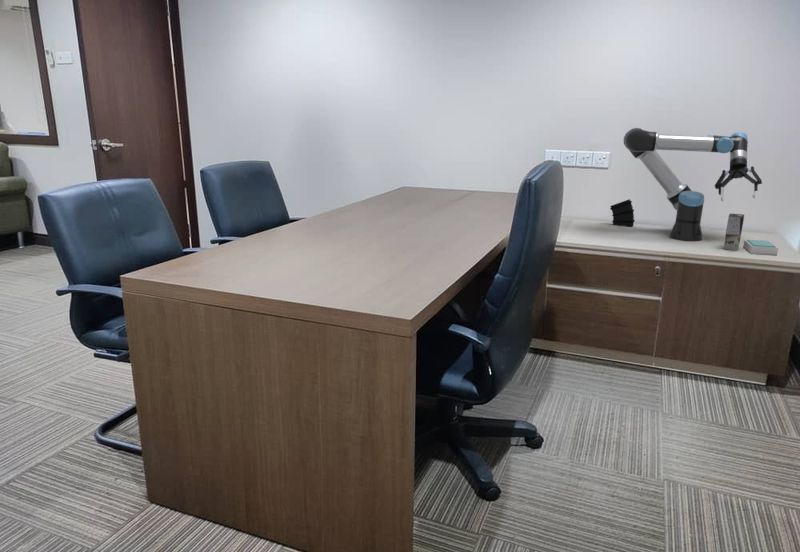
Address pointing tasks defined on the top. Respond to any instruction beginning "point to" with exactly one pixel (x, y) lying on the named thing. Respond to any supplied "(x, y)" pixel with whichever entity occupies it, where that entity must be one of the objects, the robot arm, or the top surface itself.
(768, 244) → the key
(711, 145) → the robot arm
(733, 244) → the coffee box
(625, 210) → the black ridged block
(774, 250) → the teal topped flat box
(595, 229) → the top surface
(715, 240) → the top surface
